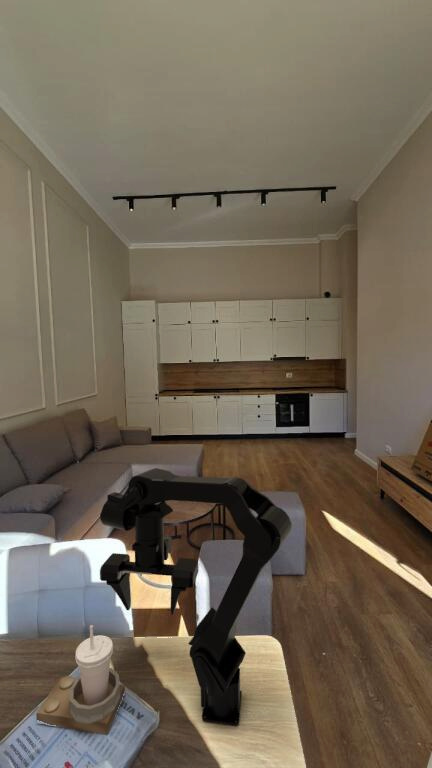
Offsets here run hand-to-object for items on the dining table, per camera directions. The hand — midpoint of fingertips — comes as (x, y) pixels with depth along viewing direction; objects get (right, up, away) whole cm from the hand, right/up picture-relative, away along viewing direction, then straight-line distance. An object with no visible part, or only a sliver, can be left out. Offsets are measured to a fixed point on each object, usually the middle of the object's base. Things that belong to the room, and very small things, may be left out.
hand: (150, 611), depth 72 cm
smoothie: (-9, -12, -7) cm, 16 cm away
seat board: (-11, -13, -7) cm, 19 cm away
